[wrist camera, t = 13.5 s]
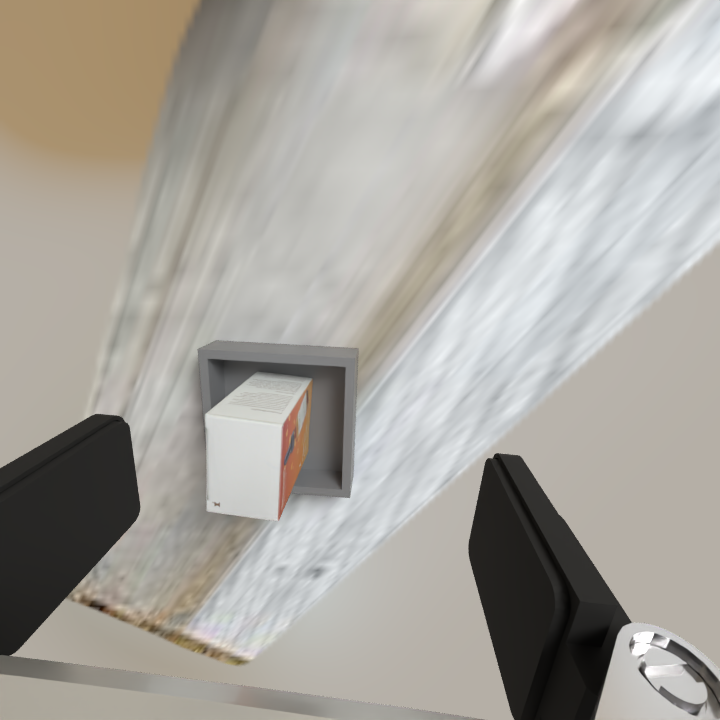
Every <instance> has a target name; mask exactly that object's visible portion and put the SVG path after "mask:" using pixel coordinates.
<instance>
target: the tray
mask: <svg viewBox="0 0 720 720" xmlns="http://www.w3.org/2000/svg"><path fill="white" fill-rule="evenodd" d="M198 359H199V371H200V383H201V396H202V408H203V420H204V432H205V444H206V430H205V414H206V413H207V412H208V411H210V410H211V409H212V408H213V407H214V406H216V405H217V404H218V403H219V402H220V401H222V400H223V399H224V398H225V397H227V396H228V395H229V394H230V393H231V392H233V391H234V390H235V389H236V388H238V387H239V386H240V385H241V384H243V383H244V382H245V381H246V380H247V379H249V378H250V377H251V376H252V375H254V374H255V373H256V372H267V373H276V374H284V375H292V376H300V377H308V378H312V379H313V386H312V399H311V413H310V425H309V447H308V453H307V456H306V458H305V460H304V463H303V465H302V467H301V470H300V472H299V474H298V477H297V479H296V481H295V484H294V486H293V488H292V491H291V493H294V494H307V495H320V496H332V497H345V498H350V495H351V488H352V481H353V470H354V446H355V421H356V397H357V372H358V348H340V347H323V346H305V345H287V344H269V343H251V342H233V341H214V342H212V343H210V344H208V345H206V346H203V347H201V348H199V349H198Z"/></svg>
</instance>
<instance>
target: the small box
mask: <svg viewBox="0 0 720 720" xmlns="http://www.w3.org/2000/svg"><path fill="white" fill-rule="evenodd" d="M312 386H313V379H312V378H308V377H300V376H292V375H284V374H276V373H267V372H256V373H255V374H254V375H252V376H251V377H250V378H249V379H247V380H246V381H245V382H244V383H243V384H241V385H240V386H239V387H238V388H236V389H235V390H234V391H233V392H231V393H230V394H229V395H228V396H227V397H225V398H224V399H223V400H222V401H220V402H219V403H218V404H217V405H216V406H214V407H213V408H212V409H211V410H210V411H208V412H207V413H206V414H205V430H206V477H207V491H206V511H207V512H214V513H220V514H227V515H235V516H242V517H249V518H256V519H263V520H272V521H279V519H280V517H281V514H282V512H283V509H284V507H285V505H286V502H287V500H288V498H289V495H290V493H291V491H292V488H293V486H294V484H295V481H296V479H297V477H298V474H299V472H300V470H301V467H302V465H303V463H304V460H305V458H306V456H307V453H308V447H309V425H310V413H311V399H312Z"/></svg>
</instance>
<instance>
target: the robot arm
mask: <svg viewBox="0 0 720 720" xmlns="http://www.w3.org/2000/svg"><path fill="white" fill-rule="evenodd" d="M139 512H140V501H139V493H138V486H137V478H136V471H135V464H134V456H133V449H132V441H131V434H130V428H129V425H128V424H127V423H126V422H125V421H124V420H123V418H122V417H120V416H114V415H103V414H95V415H92V416H90V417H89V418H87V419H85V420H84V421H82V422H80V423H78V424H77V425H75V426H73V427H71V428H70V429H68V430H66V431H64V432H63V433H61V434H59V435H58V436H56V437H54V438H52V439H50V440H49V441H47V442H45V443H44V444H42V445H40V446H38V447H37V448H35V449H33V450H31V451H30V452H28V453H26V454H24V455H23V456H21V457H19V458H18V459H16V460H14V461H12V462H10V463H9V464H7V465H6V466H4V467H2V468H0V720H483V719H477V718H470V717H464V716H458V715H451V714H445V713H438V712H432V711H425V710H419V709H413V708H406V707H398V706H391V705H383V704H376V703H369V702H361V701H354V700H347V699H339V698H332V697H324V696H316V695H310V694H302V693H295V692H287V691H280V690H273V689H265V688H257V687H250V686H242V685H235V684H227V683H219V682H212V681H204V680H196V679H188V678H181V677H173V676H165V675H157V674H150V673H142V672H134V671H126V670H118V669H110V668H102V667H95V666H87V665H78V664H71V663H63V662H54V661H46V660H38V659H30V658H21V657H13V656H10V655H12V654H13V653H15V652H16V651H17V650H18V649H19V648H20V647H21V646H22V645H23V644H24V643H25V642H26V641H27V640H28V639H29V637H30V636H31V635H32V634H33V633H34V632H35V631H36V630H37V629H38V627H40V625H41V624H42V623H43V622H44V621H45V620H46V619H47V618H48V617H49V616H50V614H51V613H52V612H53V611H54V610H55V609H56V608H57V607H58V606H59V605H60V603H61V602H62V601H63V600H64V599H65V598H66V597H67V596H68V595H69V594H70V592H71V591H72V590H73V589H74V588H75V587H76V586H77V585H78V584H79V583H80V582H81V580H82V579H83V578H84V577H85V576H86V575H87V574H88V573H89V572H90V571H91V569H92V568H93V567H94V566H95V565H96V564H97V563H98V562H99V561H100V560H101V558H102V557H103V556H104V555H105V554H106V553H107V552H108V551H109V550H110V549H111V547H112V546H113V545H114V544H115V543H116V542H117V541H118V540H119V539H120V538H121V536H122V535H123V534H124V533H125V532H126V531H127V530H128V529H129V528H130V527H131V525H132V524H133V523H134V522H135V521H136V519H137V517H138V515H139ZM469 558H470V562H471V566H472V570H473V574H474V577H475V581H476V585H477V588H478V592H479V596H480V599H481V603H482V607H483V610H484V614H485V617H486V621H487V625H488V629H489V632H490V636H491V640H492V643H493V647H494V651H495V655H496V658H497V662H498V666H499V669H500V673H501V677H502V680H503V684H504V688H505V691H506V695H507V699H508V702H509V706H510V710H511V713H512V716H513V718H514V720H720V669H719V668H718V667H717V666H716V665H715V664H714V663H713V662H712V661H711V660H710V659H709V658H707V657H706V656H705V655H704V654H703V653H702V652H700V650H698V649H697V648H695V647H694V646H692V645H691V644H690V643H688V642H687V641H685V640H684V639H682V638H681V637H679V636H677V635H675V634H673V633H671V632H669V631H667V630H665V629H663V628H661V627H657V626H654V625H650V624H647V623H632V622H631V621H630V619H629V618H628V616H627V615H626V613H625V611H624V610H623V608H622V607H621V605H620V604H619V602H618V601H617V599H616V598H615V596H614V595H613V593H612V592H611V590H610V589H609V587H608V586H607V584H606V583H605V581H604V580H603V578H602V577H601V575H600V573H599V572H598V570H597V569H596V567H595V566H594V564H593V563H592V561H591V560H590V558H589V557H588V555H587V554H586V552H585V551H584V549H583V548H582V546H581V545H580V543H579V541H578V540H577V539H576V537H575V535H574V534H573V532H572V531H571V529H570V528H569V526H568V525H567V523H566V522H565V520H564V519H563V518H562V517H561V516H560V515H559V514H558V513H557V511H556V510H555V508H554V507H553V505H552V504H551V502H550V500H549V499H548V497H547V496H546V494H545V493H544V491H543V490H542V488H541V487H540V485H539V484H538V482H537V481H536V479H535V478H534V476H533V474H532V473H531V471H530V470H529V468H528V467H527V465H526V464H525V462H524V461H523V459H522V458H521V457H520V456H518V455H509V454H499V453H497V454H495V455H494V457H493V459H490V458H488V459H487V460H486V462H485V467H484V471H483V476H482V481H481V486H480V491H479V496H478V501H477V506H476V510H475V515H474V520H473V525H472V530H471V535H470V539H469Z"/></svg>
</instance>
